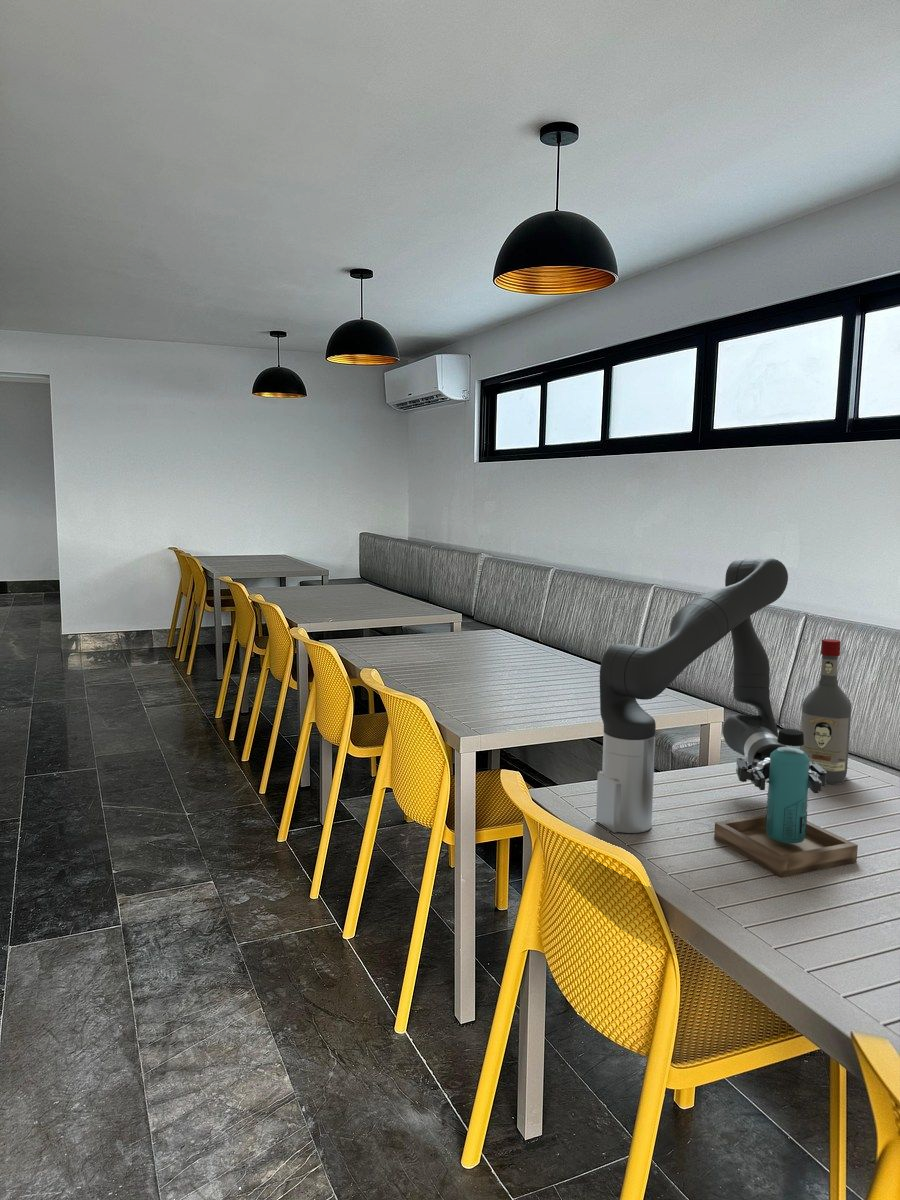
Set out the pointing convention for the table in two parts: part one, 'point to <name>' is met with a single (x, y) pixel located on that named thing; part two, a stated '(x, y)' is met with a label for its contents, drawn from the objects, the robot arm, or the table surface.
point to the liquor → (827, 718)
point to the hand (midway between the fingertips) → (789, 786)
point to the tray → (785, 847)
